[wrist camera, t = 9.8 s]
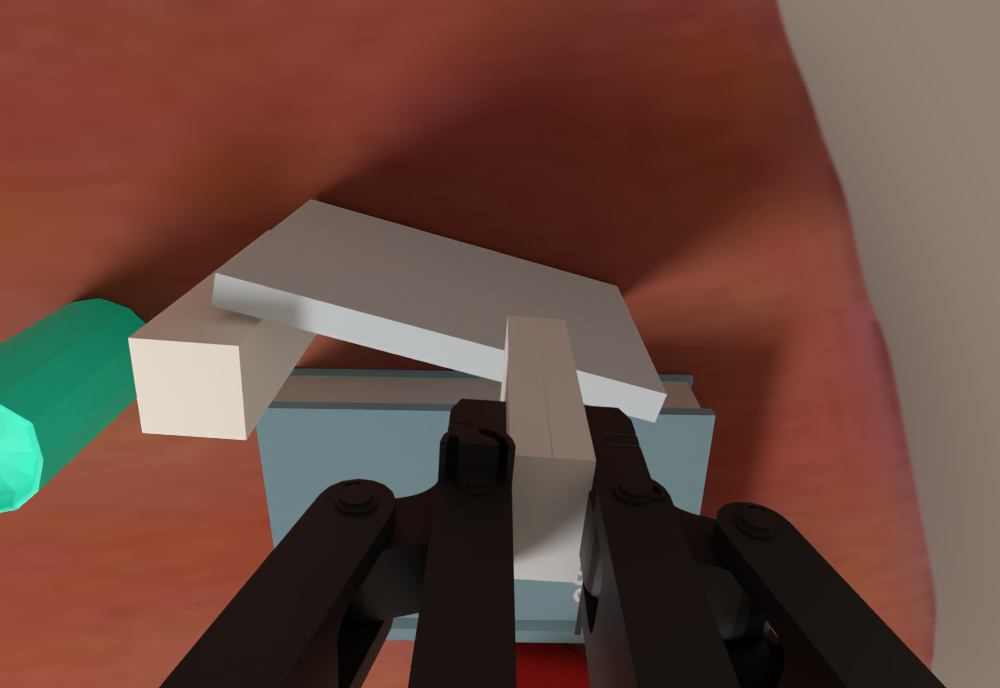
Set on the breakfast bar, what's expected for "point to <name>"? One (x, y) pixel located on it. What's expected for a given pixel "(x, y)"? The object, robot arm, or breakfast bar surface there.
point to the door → (434, 300)
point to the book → (415, 458)
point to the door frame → (210, 366)
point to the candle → (61, 391)
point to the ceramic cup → (549, 666)
